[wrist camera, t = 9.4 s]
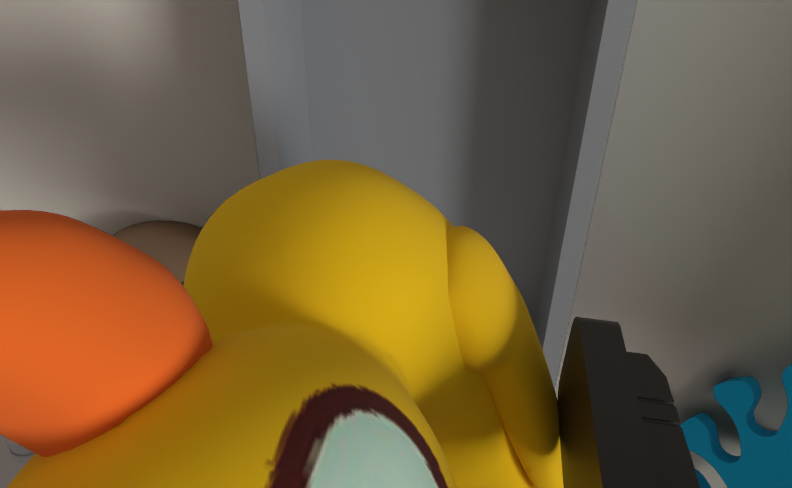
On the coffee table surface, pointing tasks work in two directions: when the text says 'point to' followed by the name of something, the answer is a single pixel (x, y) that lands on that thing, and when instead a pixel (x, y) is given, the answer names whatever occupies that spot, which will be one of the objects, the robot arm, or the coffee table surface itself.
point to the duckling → (275, 348)
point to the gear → (744, 438)
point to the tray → (454, 115)
